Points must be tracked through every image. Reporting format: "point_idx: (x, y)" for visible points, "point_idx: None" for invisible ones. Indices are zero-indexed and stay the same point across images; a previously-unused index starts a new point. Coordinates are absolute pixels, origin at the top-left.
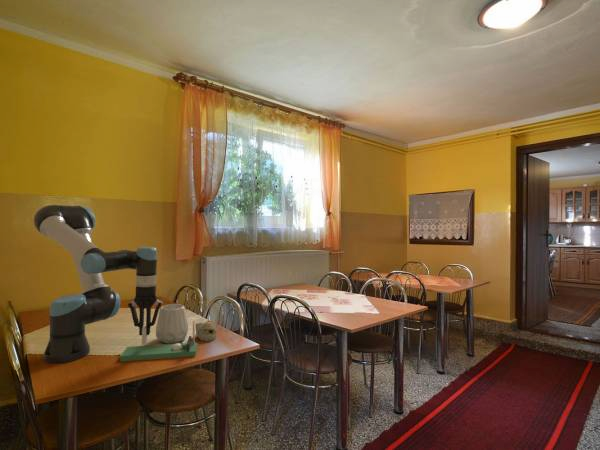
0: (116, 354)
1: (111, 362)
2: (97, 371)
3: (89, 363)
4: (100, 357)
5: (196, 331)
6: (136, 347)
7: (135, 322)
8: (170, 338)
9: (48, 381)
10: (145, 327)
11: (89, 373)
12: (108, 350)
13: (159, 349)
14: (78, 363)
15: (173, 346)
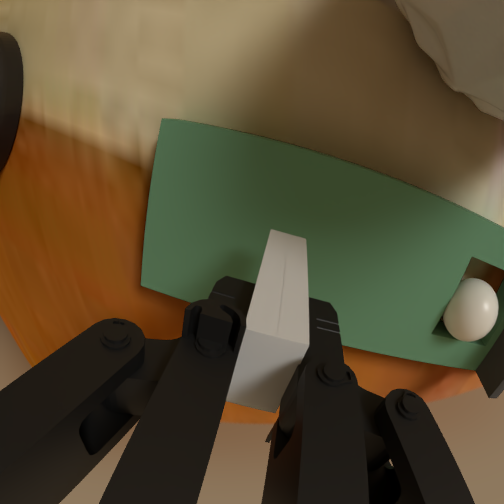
0: (122, 148)
1: (118, 262)
2: None
3: (44, 229)
4: (62, 167)
5: None
6: (227, 160)
7: (98, 429)
8: (492, 111)
9: (13, 318)
10: (268, 396)
11: (78, 330)
12: (84, 68)
13: (383, 283)
14: (16, 210)
15: (456, 330)
